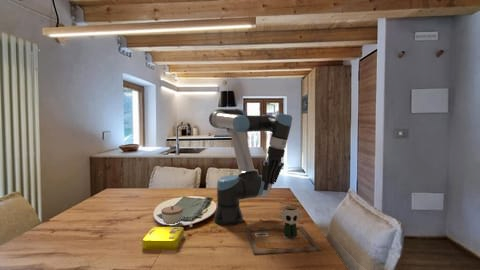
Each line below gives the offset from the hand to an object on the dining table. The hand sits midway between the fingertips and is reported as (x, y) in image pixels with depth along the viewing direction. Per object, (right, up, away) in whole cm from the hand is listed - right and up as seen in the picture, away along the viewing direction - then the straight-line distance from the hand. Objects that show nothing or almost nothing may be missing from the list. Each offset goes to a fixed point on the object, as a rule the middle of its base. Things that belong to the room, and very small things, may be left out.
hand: (265, 196), depth 128 cm
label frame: (+6, -18, -4) cm, 20 cm away
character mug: (+12, -18, 0) cm, 22 cm away
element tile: (-45, -19, -5) cm, 49 cm away
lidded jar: (-46, -18, +15) cm, 52 cm away
